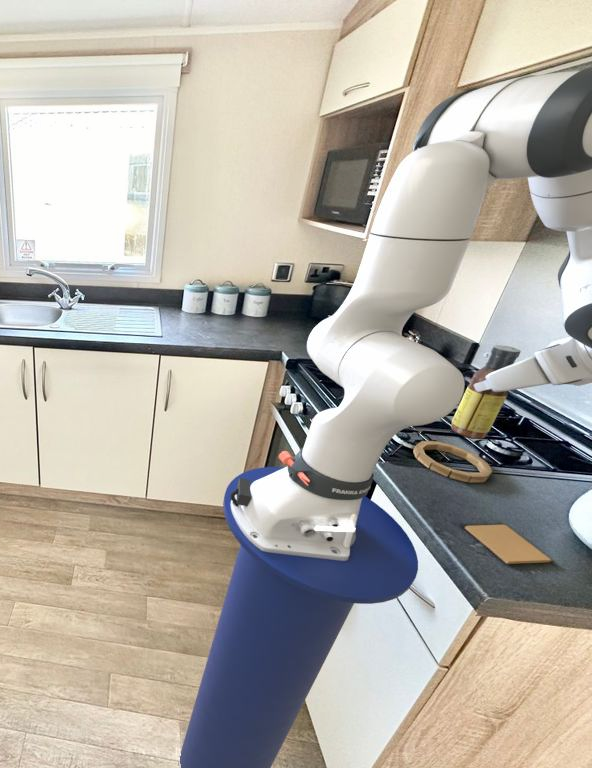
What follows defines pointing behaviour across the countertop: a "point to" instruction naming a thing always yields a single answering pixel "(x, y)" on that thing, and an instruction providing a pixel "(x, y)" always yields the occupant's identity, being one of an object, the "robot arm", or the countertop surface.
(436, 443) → the birch ring
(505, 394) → the sauce bottle
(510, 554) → the cork coaster
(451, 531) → the countertop surface
